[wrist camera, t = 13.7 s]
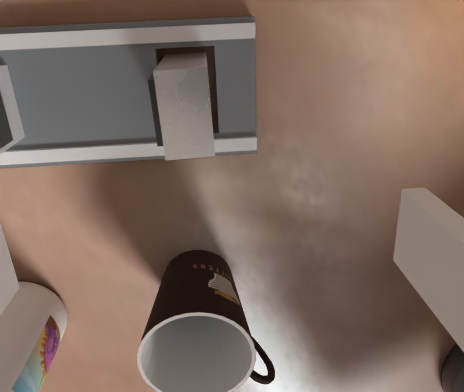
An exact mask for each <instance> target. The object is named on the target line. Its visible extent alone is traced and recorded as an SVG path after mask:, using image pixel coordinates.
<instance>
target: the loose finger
mask: <svg viewBox="0 0 464 392" xmlns="http://www.w3.org/2000/svg"><path fill="white" fill-rule="evenodd" d="M148 86H149V93H150V100H151V107H152V113H153V120H154V127H155V134H156V141H157V147H159V146H164V153H165V160H177V159H189V158H200V157H212V156H215V148H214V136H213V125H212V114H211V102H210V91H209V79H208V68H207V58H206V52H198V53H185V54H172V55H165V57H164V58H163V59H162V60H161V62H160V63H159V64H158V65H157V67H156V68H155V69H154V71H153V74H152V75H151V77H150V78H149V79H148Z"/></svg>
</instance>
